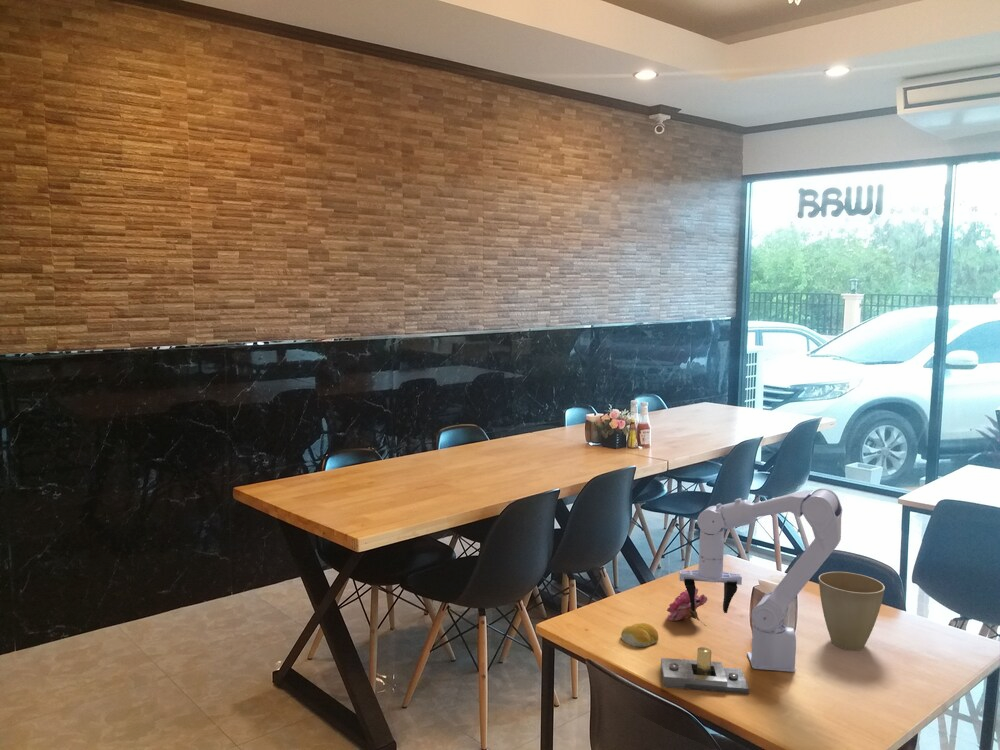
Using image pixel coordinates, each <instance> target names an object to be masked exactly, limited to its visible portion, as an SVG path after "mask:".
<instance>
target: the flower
mask: <svg viewBox="0 0 1000 750" xmlns="http://www.w3.org/2000/svg"><path fill="white" fill-rule="evenodd" d="M698 593H699V588H697V587H696V588H695V611H692V610H691V603H690V597H689V594H688V591H687V589H684V591H681V593H680V594H679V595H678V596H677V597H675V599H674V601H673V602H671V603H670V604H668V608H667V609H666V611H667V612H668V614H667V617H666V618H667V620H669V621H671V622H675V621H679V620H681V619H688V618H693V619H695V620H697V621H700V622H701V623H702V621H701V620H700V618H699V616H698V612H697V609H698V608H699V607H701V606H704V604H706V603H707V601H708V597H707V596H705V594H701V595H700V596H699V595H698ZM703 625H704V626H705V627H706V626H707V625H705V623H703Z"/></svg>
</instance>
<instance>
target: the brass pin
mask: <svg viewBox="0 0 1000 750" xmlns="http://www.w3.org/2000/svg"><path fill="white" fill-rule="evenodd" d="M696 655H697V657H696V660H697V675H704V676H710V674H711V662H712V650H711V648H708V647H703V646H701V647H698V648H697V654H696Z"/></svg>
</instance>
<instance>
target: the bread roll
mask: <svg viewBox="0 0 1000 750" xmlns="http://www.w3.org/2000/svg"><path fill="white" fill-rule="evenodd" d="M620 637H621V639H622V641H623V642H625V643H626V644H628V645H630V646H632V647H639V648H640V647H644V648H645V647H648V646H650V645H654V644H655V643H656V644H657V642H659V632H658V630H657V629H656V628H655V627H654V626H653V625H651V624H650V623H646V622H640V623H634V624H632V625H628V626H626V627H624V628H623V629H622V631H621V634H620Z"/></svg>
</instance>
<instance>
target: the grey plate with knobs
mask: <svg viewBox="0 0 1000 750" xmlns="http://www.w3.org/2000/svg"><path fill="white" fill-rule="evenodd" d="M660 671H661V677H662V683H663V688H671V689H681V690H683V689H684V690H696V691H709V692H717V693H718V692H719V693H732V694H744V695H749V694H750V693H749V689H750V688H749V686H748V684H747V683H748V682H747V680H746V677H745V675H744V672H743V669H742V668H738V667H737V668H736V667H735V668H734V667H724V665H723V663H722V661H721V662H720V661H711V674H710V676H704V675H697V659H696V660H694V659H683V658H671V657H670V658H668V657H661V659H660Z"/></svg>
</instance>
